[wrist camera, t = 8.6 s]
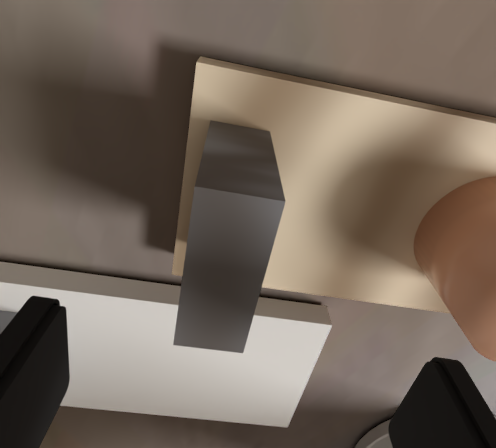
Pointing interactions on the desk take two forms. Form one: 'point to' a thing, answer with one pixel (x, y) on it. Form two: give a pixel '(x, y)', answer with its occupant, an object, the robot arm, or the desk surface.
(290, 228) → the beige stand with post
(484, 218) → the peach rounded lump
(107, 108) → the desk surface
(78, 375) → the white board gray block
